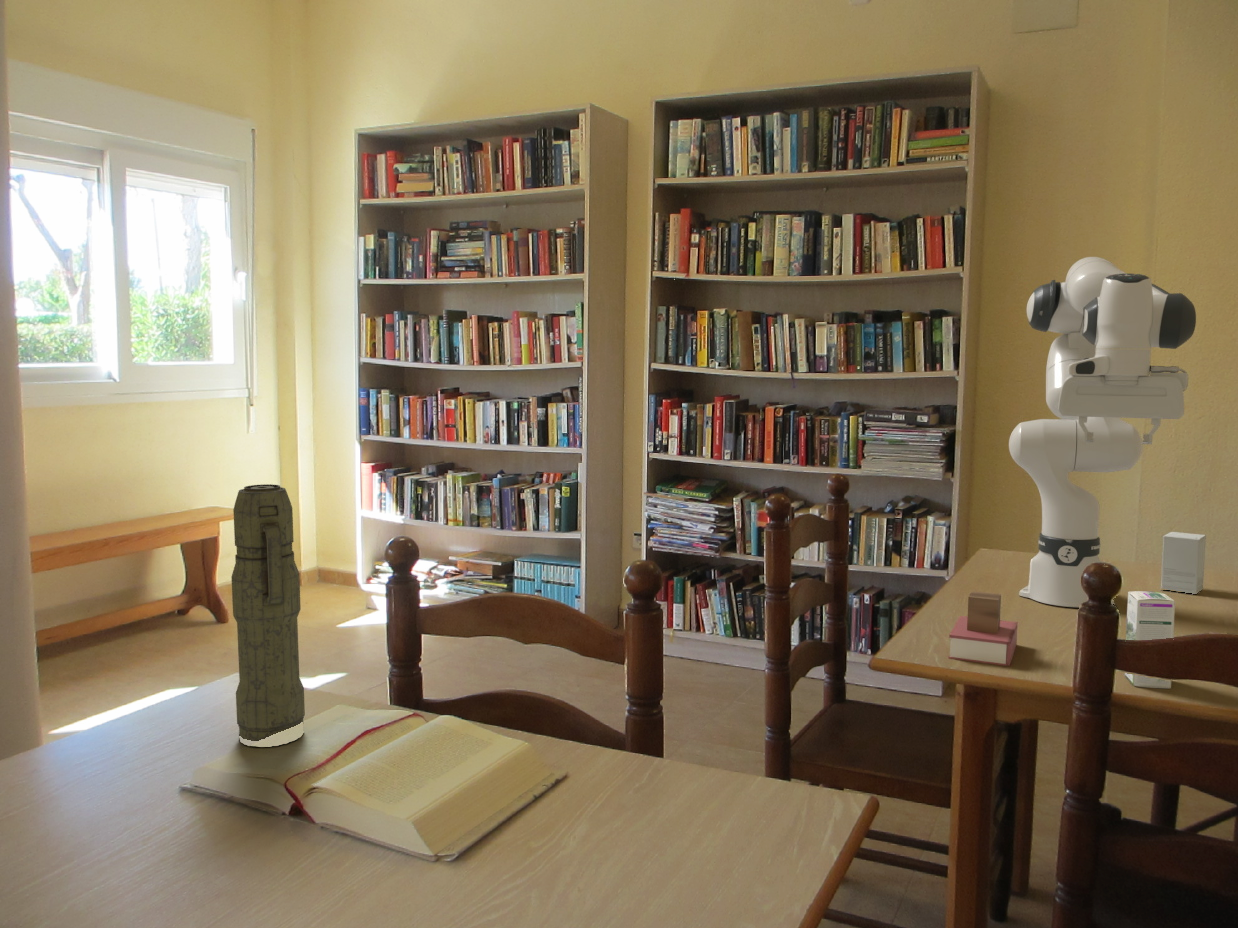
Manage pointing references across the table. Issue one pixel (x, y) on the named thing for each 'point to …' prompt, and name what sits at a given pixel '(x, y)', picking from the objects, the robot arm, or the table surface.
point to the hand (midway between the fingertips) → (1117, 443)
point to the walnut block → (984, 612)
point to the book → (983, 643)
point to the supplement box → (1183, 562)
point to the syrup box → (1149, 626)
